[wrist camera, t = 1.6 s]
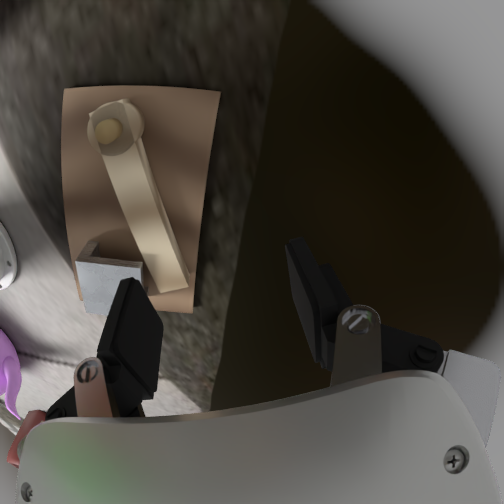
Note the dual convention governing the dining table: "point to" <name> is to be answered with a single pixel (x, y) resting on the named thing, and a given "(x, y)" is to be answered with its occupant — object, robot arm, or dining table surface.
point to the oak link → (137, 190)
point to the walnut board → (163, 169)
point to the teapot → (9, 373)
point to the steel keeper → (103, 277)
